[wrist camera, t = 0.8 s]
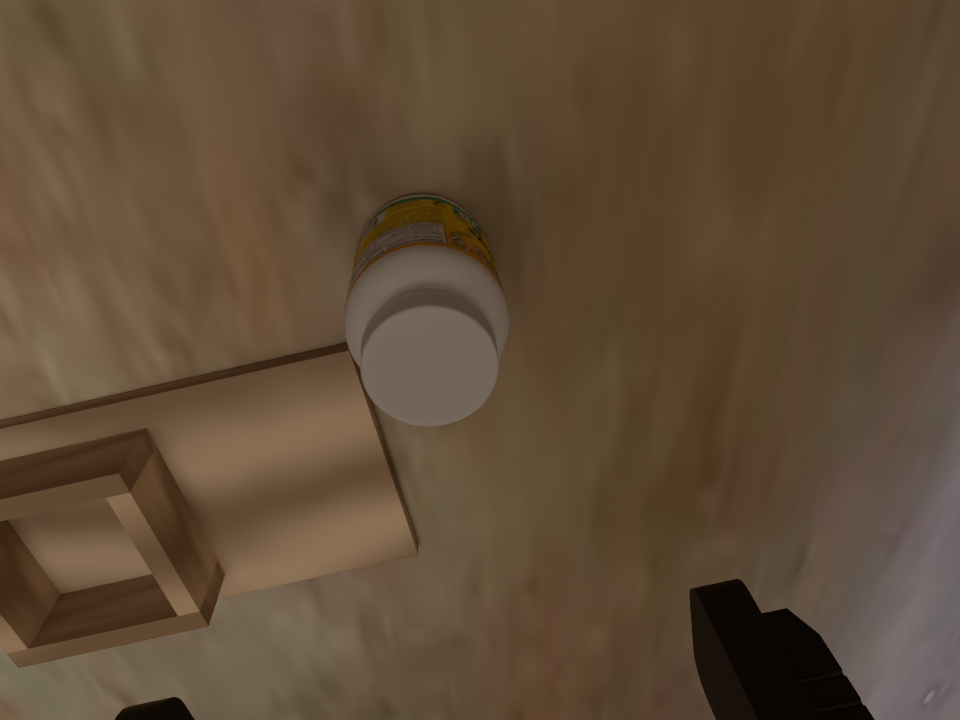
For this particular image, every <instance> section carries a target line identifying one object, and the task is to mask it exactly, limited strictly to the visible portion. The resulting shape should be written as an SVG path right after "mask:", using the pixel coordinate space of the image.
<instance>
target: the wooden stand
mask: <svg viewBox="0 0 960 720" xmlns="http://www.w3.org/2000/svg"><path fill="white" fill-rule="evenodd" d="M416 555H418V542H417V539H416V536H415V533H414V530H413V527H412V524H411V521H410V518H409V515H408V512H407V509H406V506H405V503H404V500H403V497H402V494H401V491H400V488H399V485H398V482H397V479H396V476H395V473H394V470H393V467H392V464H391V461H390V458H389V455H388V452H387V449H386V446H385V443H384V440H383V437H382V434H381V431H380V428H379V425H378V422H377V419H376V416H375V413H374V410H373V407H372V405H371V402H370V399H369V396H368V393H367V392H366V389H365V387H364V384H363V381H362V378H361V372H360V369H359V366H358V364H357V363H356V361H355V360H354V358H353V356H352V354H351V352H350V350H349V347H348V344H347V343H345V344H340V345H336V346H331V347H327V348H322V349H318V350H313V351H309V352H305V353H300V354H296V355H291V356H287V357H282V358H278V359H273V360H269V361H265V362H260V363H256V364H251V365H247V366H242V367H238V368H233V369H229V370H225V371H220V372H216V373H211V374H207V375H202V376H198V377H193V378H189V379H185V380H180V381H176V382H171V383H167V384H162V385H158V386H153V387H149V388H145V389H140V390H136V391H131V392H127V393H122V394H118V395H113V396H109V397H105V398H100V399H96V400H91V401H87V402H82V403H78V404H73V405H69V406H65V407H60V408H56V409H51V410H47V411H42V412H38V413H33V414H29V415H25V416H20V417H16V418H11V419H7V420H2V421H0V646H1V647H2V649H3V650H4V651H5V652H6V653H7V655H8V656H9V657H10V658H11V659H12V661H13V662H14V663H15V664H16V666H17V667H18V668H20V667H25V666H29V665H34V664H38V663H43V662H47V661H52V660H57V659H61V658H66V657H70V656H75V655H80V654H84V653H89V652H93V651H98V650H102V649H107V648H112V647H116V646H121V645H125V644H130V643H134V642H139V641H144V640H148V639H153V638H157V637H162V636H166V635H171V634H176V633H180V632H185V631H189V630H194V629H199V628H203V627H208V626H209V623H210V620H211V617H212V614H213V611H214V607H215V604H216V601H217V599H220V598H224V597H229V596H233V595H238V594H243V593H247V592H252V591H256V590H261V589H265V588H270V587H275V586H279V585H284V584H288V583H293V582H297V581H302V580H307V579H311V578H316V577H320V576H325V575H329V574H334V573H338V572H343V571H348V570H352V569H357V568H361V567H366V566H370V565H375V564H380V563H384V562H389V561H393V560H398V559H402V558H407V557H411V556H416Z"/></svg>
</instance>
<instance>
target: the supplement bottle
mask: <svg viewBox="0 0 960 720" xmlns="http://www.w3.org/2000/svg"><path fill="white" fill-rule="evenodd" d="M344 330H345V336H346V341H347V344H348V347H349V350H350V352H351V354H352V356H353V358H354V360H355V361H356V363H357V364H358V366H359V367H360V372H361V378H362V381H363V384H364V387H365V389H366V392H367V393H368V395H369V397H370V398H371V400H372V401H373V402H374V403H375V404H376V405H377V406H378V407H379V408H380V409H381V410H382V411H383V412H385V413H386V414H387V415H389V416H391V417H393V418H395V419H396V420H399V421H401V422H404V423H407V424H411V425H416V426H425V427H428V426H431V427H434V426H442V425H446V424H450V423H454V422H457V421H459V420H461V419H463V418H465V417H467V416H469V415H470V414H472V413H473V412H475V411H476V410H477V409H478V408H480V407H481V406H482V405H483V404H484V402H485V401H486V400H487V399H488V398H489V396H490V394H491V392H492V390H493V389H494V387H495V384H496V381H497V377H498V371H499V359H500V357H501V355H502V353H503V351H504V349H505V346H506V342H507V338H508V333H509V310H508V305H507V302H506V299H505V296H504V293H503V290H502V286H501V283H500V280H499V277H498V274H497V271H496V267H495V264H494V261H493V258H492V255H491V252H490V249H489V246H488V242H487V240H486V237H485V235H484V233H483V231H482V229H481V227H480V226H479V224H478V223H477V222H476V220H475V219H474V218H473V217H472V216H471V215H470V214H469V213H467V212H466V211H465V210H464V209H463V208H461V207H460V206H459V205H457V204H456V203H454V202H452V201H450V200H448V199H446V198H443V197H440V196H436V195H430V194H416V195H410V196H406V197H402V198H399V199H396V200H394V201H392V202H390V203H389V204H387V205H385V206H384V207H382V208H381V209H380V210H379V211H378V212H376V213H375V214H374V215H373V216H372V218H371V219H370V220H369V222H368V223H367V225H366V226H365V228H364V230H363V232H362V234H361V237H360V240H359V243H358V247H357V251H356V255H355V261H354V267H353V272H352V276H351V281H350V286H349V291H348V296H347V300H346V306H345V314H344Z"/></svg>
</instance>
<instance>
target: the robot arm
mask: <svg viewBox="0 0 960 720" xmlns="http://www.w3.org/2000/svg"><path fill="white" fill-rule="evenodd" d="M690 608H691V622H692V635H693V649H694V657H695V662H696V666H697V670H698V674H699V677H700V681H701V684H702V687H703V689H704V692H705V695H706V697H707V700H708V702H709V704H710V707H711V709H712V712H713V714H714V716H715V719H716V720H874V718H873V717H872V715H871V714H870V712H869V710H868V709H867V707H866V706H865V705H863V704H862V702H861V699H860V696H859V695H858V693H857V692H856V690H855V689H854V687H853V686H852V684H851V683H850V681H849V679H848V678H847V676H844V675H843V672H842V669H841V667H840V665H839V664H838V662H837V661H836V659H835V658H834V656H833V655H832V653H831V651H830V650H829V648H828V647H827V645H826V644H825V642H824V641H823V639H822V638H821V636H820V634H818V633H817V632H816V631H815V630H813V629H812V628H811V627H810V626H808V625H807V624H806V623H805V622H803V621H802V620H801V619H800V618H798V617H797V616H796V615H795V614H793V613H792V612H791V611H790V610H788V609H787V608H786V609H781V610H776V611H772V612H767V613H761V611H760V610H759V608H758V606H757V604H756V603H755V601H754V599H753V597H752V596H751V594H750V592H749V590H748V589H747V587H746V586H745V584H744V583H743V582H742V581H741V580H740V579H734V580H730V581H725V582H720V583H716V584H711V585H706V586H702V587H697V588H692V589H690ZM115 720H195V719H194V718H193V716H192V715H191V713H190V712H189V710H188V709H187V707H186V706H185V704H184V703H183V702H182V700H180V699H179V698H177V697H172V698H167V699H162V700H158V701H153V702H148V703H144V704H139V705H134V706H130V707H126V708H124V709H123V710H122V711H121V712H120V713H119V714H118V715H117V717H116V719H115Z"/></svg>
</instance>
